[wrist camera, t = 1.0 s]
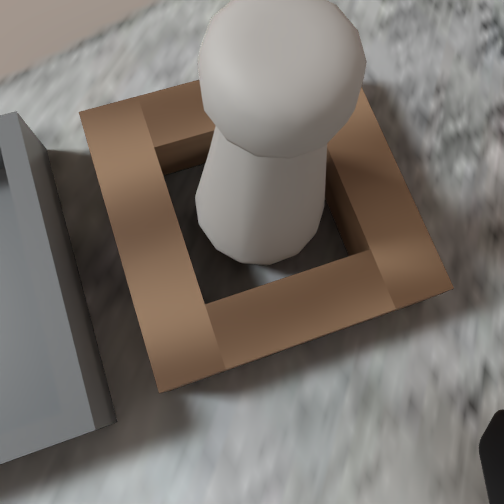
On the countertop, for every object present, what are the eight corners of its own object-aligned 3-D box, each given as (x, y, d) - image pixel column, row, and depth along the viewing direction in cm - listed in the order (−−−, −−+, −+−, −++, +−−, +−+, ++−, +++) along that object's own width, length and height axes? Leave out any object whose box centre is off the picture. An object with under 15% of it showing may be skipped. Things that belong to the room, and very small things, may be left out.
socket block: (425, 299, 23) (454, 288, 20) (168, 391, 21) (158, 393, 18) (328, 79, 26) (340, 41, 23) (96, 143, 24) (78, 112, 21)
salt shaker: (287, 152, 25) (347, -84, 12) (332, 250, 23) (453, 100, 11) (182, 189, 24) (129, -22, 11) (222, 293, 22) (214, 184, 10)
